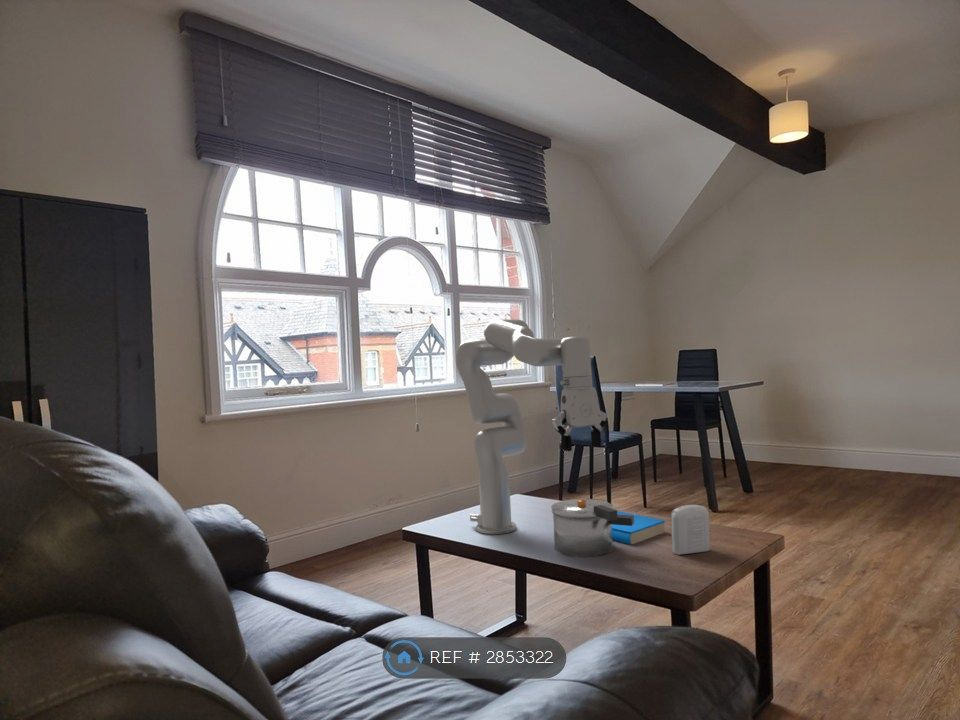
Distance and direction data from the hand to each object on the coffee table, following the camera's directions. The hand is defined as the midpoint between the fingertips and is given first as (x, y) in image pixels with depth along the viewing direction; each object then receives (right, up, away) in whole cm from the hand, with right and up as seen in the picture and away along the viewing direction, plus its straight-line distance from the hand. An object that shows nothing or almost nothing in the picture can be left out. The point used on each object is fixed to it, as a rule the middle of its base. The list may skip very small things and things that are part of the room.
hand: (582, 448), depth 168 cm
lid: (+3, -19, +7) cm, 20 cm away
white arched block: (+29, -28, +2) cm, 41 cm away
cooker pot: (+5, -29, +8) cm, 30 cm away
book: (+14, -29, +25) cm, 41 cm away
